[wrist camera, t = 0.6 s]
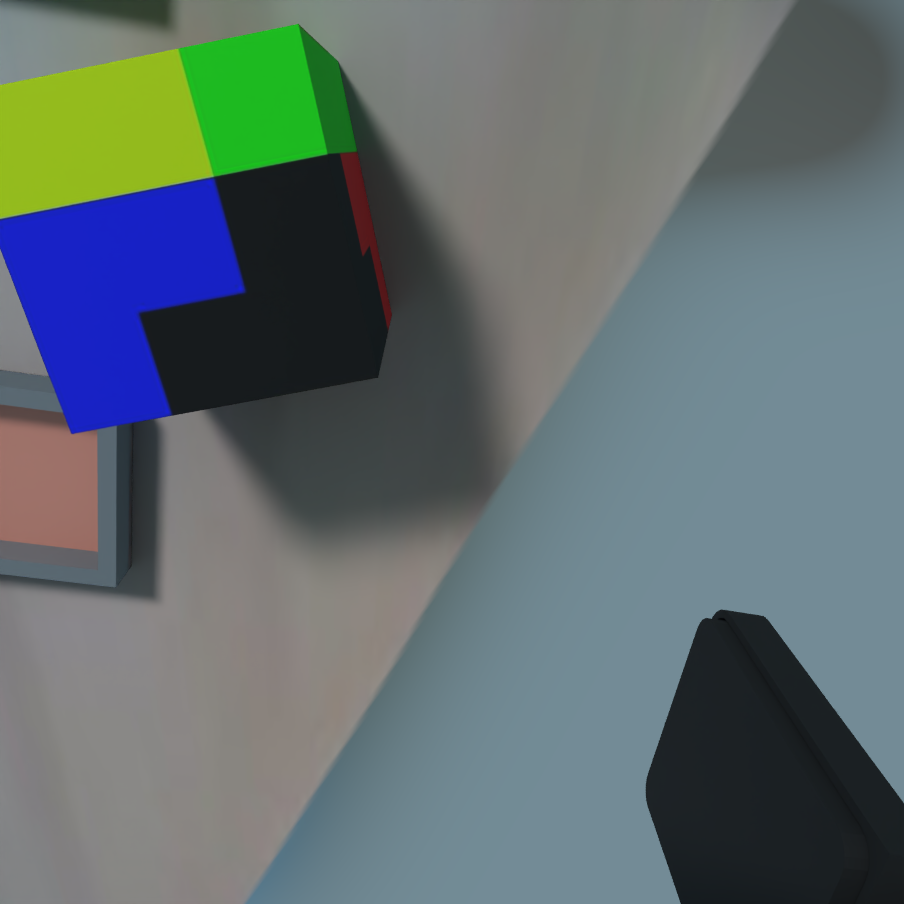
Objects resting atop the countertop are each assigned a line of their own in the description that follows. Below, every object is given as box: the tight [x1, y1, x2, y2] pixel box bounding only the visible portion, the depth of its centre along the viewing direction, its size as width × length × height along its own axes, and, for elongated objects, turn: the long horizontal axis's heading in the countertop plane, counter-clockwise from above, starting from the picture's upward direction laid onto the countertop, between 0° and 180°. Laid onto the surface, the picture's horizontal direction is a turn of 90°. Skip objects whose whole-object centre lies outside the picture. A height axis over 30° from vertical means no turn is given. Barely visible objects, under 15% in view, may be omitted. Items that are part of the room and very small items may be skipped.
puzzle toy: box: [0, 24, 392, 434], centre depth 28 cm, size 10×10×10 cm
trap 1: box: [0, 370, 133, 587], centre depth 35 cm, size 9×9×2 cm
